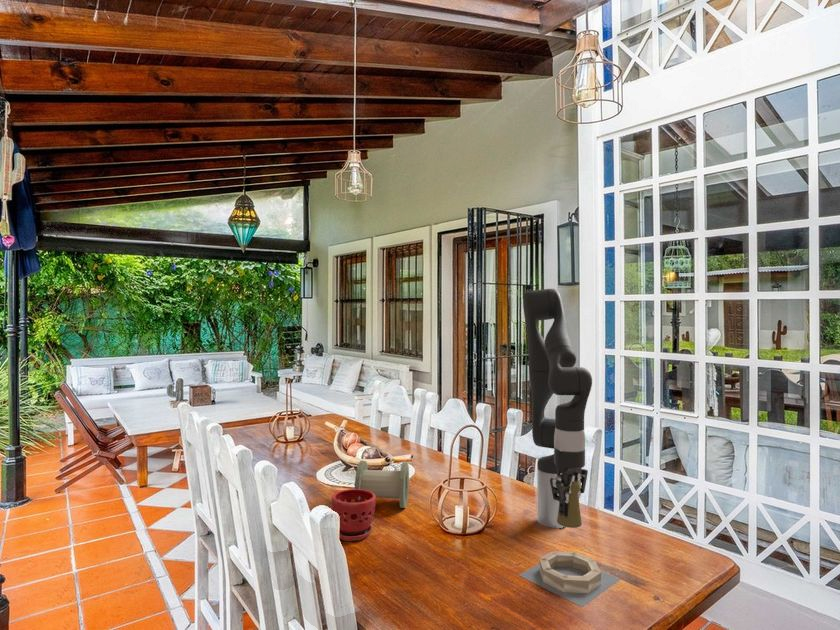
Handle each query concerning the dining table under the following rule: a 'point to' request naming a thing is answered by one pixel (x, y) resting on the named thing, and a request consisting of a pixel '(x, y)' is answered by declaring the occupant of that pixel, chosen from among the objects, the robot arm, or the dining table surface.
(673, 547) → the dining table surface
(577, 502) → the olive pawn peg
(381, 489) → the spool
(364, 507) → the plant pot
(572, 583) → the wooden ring
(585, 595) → the slate mat
